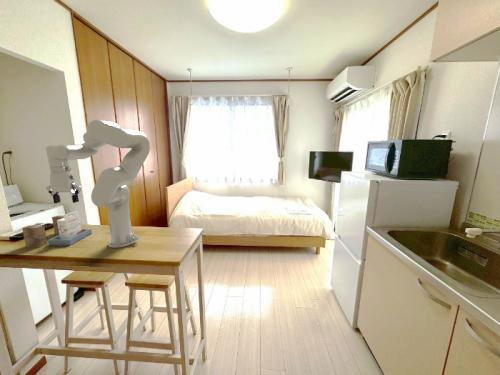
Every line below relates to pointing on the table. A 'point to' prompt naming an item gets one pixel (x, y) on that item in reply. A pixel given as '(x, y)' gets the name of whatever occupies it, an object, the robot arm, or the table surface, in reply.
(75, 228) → the ink cartridge box
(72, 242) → the tray
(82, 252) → the table surface
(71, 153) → the robot arm
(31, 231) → the left walnut block
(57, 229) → the right walnut block
